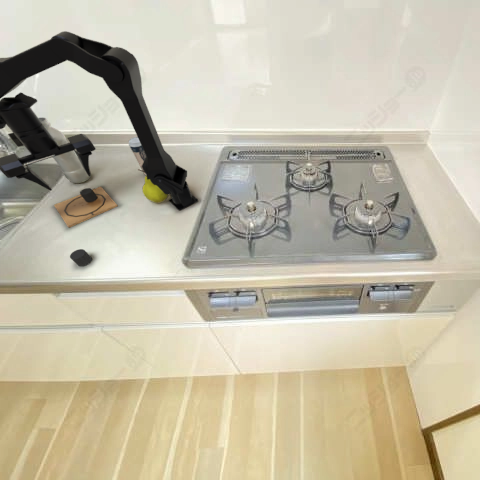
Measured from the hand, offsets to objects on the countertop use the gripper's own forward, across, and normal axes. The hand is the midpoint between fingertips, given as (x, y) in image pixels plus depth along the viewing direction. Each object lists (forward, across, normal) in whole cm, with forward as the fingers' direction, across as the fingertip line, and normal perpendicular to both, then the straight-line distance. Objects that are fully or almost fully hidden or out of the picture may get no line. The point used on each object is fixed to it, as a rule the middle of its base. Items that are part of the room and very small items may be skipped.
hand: (70, 182), depth 75 cm
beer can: (+10, -21, -7) cm, 24 cm away
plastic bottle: (+10, -3, -18) cm, 21 cm away
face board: (+10, +1, -3) cm, 10 cm away
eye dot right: (+9, -2, -4) cm, 10 cm away
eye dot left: (+10, +8, +20) cm, 24 cm away
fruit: (+10, -16, +10) cm, 22 cm away
